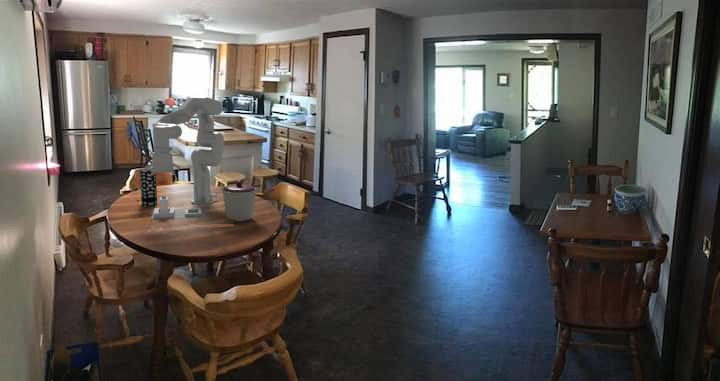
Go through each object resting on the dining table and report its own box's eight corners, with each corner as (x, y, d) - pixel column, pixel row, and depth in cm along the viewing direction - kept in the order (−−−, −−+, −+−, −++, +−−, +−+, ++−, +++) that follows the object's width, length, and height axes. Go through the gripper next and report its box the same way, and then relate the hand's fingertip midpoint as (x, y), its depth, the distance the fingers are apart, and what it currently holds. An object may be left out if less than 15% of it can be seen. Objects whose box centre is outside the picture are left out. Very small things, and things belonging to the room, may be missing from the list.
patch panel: (203, 212, 292) (203, 205, 291) (204, 219, 279) (204, 212, 278) (153, 214, 284) (153, 207, 284) (151, 221, 271) (151, 214, 270)
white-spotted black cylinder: (151, 207, 299) (150, 172, 294) (138, 205, 300) (136, 171, 296) (160, 203, 307) (158, 169, 302) (147, 202, 308) (145, 168, 304)
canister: (226, 225, 271) (225, 185, 266) (218, 216, 286) (217, 178, 282) (261, 222, 279) (261, 182, 274) (251, 213, 294) (251, 176, 290)
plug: (168, 213, 283) (168, 194, 280) (168, 216, 277) (167, 197, 275) (160, 213, 282) (160, 194, 279) (160, 216, 276) (159, 197, 274)
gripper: (179, 148, 278) (181, 180, 282) (144, 149, 273) (146, 181, 277) (179, 150, 271) (180, 183, 275) (143, 151, 266) (145, 184, 270)
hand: (163, 182), depth 276 cm, fingers open, 9 cm apart
